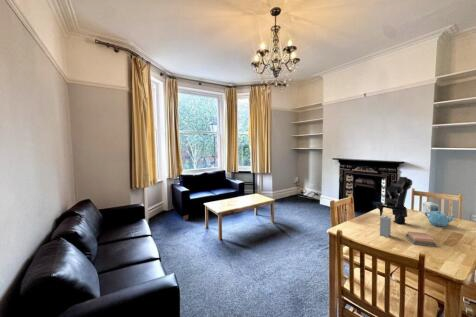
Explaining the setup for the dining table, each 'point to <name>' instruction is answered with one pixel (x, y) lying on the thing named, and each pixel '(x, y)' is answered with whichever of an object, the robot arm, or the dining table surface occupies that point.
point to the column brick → (385, 226)
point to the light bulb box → (430, 207)
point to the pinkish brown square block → (420, 239)
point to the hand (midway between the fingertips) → (387, 217)
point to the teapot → (438, 218)
